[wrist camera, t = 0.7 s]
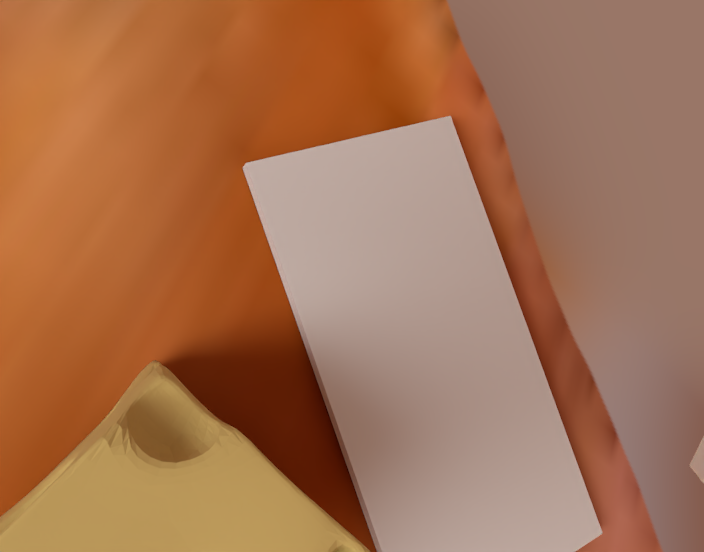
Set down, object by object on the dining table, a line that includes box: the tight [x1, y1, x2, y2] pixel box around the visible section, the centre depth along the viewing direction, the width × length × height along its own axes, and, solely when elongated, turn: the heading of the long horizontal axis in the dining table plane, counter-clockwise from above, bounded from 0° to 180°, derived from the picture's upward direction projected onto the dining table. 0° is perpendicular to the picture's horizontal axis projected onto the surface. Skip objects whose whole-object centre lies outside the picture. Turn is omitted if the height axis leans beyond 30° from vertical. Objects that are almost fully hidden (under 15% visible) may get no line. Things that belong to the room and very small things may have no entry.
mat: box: [243, 116, 602, 552], centre depth 33 cm, size 26×13×1 cm, turn 20°
